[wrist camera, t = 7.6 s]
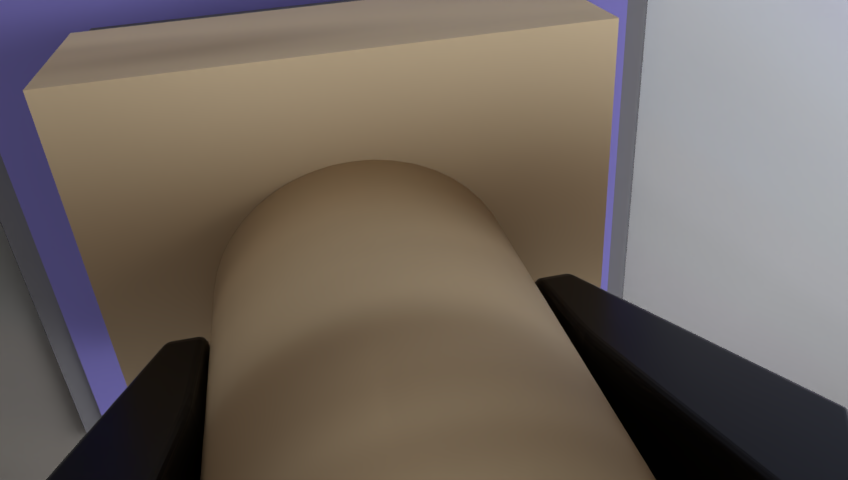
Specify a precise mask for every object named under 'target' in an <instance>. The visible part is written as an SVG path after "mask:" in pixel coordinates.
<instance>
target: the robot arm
mask: <svg viewBox="0 0 848 480" xmlns="http://www.w3.org/2000/svg"><path fill="white" fill-rule="evenodd" d="M535 284H536V285H537V287H538V289H539V290H540V292H541V293H542V295H543V297H544V298H545V300H546V302H547V303H548V305H549V306H550V308H551V310H552V311H553V313H554V315H555V316H556V318H557V319H558V321H559V323H560V324H561V326H562V328H563V329H564V331H565V332H566V334H567V336H568V337H569V339H570V341H571V342H572V344H573V345H574V347H575V349H576V350H577V352H578V354H579V355H580V357H581V358H582V360H583V362H584V363H585V365H586V367H587V368H588V370H589V371H590V373H591V375H592V376H593V378H594V380H595V381H596V383H597V384H598V386H599V388H600V389H601V391H602V393H603V394H604V396H605V397H606V399H607V401H608V402H609V404H610V406H611V407H612V409H613V410H614V412H615V414H616V415H617V417H618V419H619V420H620V422H621V423H622V425H623V427H624V428H625V430H626V432H627V433H628V435H629V436H630V438H631V440H632V441H633V443H634V445H635V446H636V448H637V449H638V451H639V453H640V454H641V456H642V458H643V459H644V461H645V462H646V464H647V466H648V467H649V469H650V471H651V472H652V474H653V475H654V477H655V479H656V480H848V410H847V409H846V408H845V407H843V406H841V405H839V404H837V403H835V402H833V401H831V400H829V399H827V398H825V397H823V396H821V395H819V394H817V393H815V392H813V391H810V390H808V389H806V388H804V387H802V386H800V385H798V384H796V383H794V382H792V381H790V380H788V379H786V378H784V377H782V376H780V375H778V374H776V373H774V372H771V371H769V370H767V369H765V368H763V367H761V366H759V365H757V364H755V363H753V362H751V361H749V360H747V359H745V358H743V357H741V356H739V355H737V354H735V353H732V352H730V351H728V350H726V349H724V348H722V347H720V346H718V345H716V344H714V343H712V342H710V341H708V340H706V339H704V338H702V337H700V336H698V335H696V334H693V333H691V332H689V331H687V330H685V329H683V328H681V327H679V326H677V325H675V324H673V323H671V322H669V321H667V320H665V319H663V318H661V317H659V316H657V315H654V314H652V313H650V312H648V311H646V310H644V309H642V308H640V307H638V306H636V305H634V304H632V303H630V302H628V301H626V300H624V299H622V298H620V297H618V296H615V295H613V294H611V293H609V292H607V291H605V290H603V289H601V288H599V287H597V286H595V285H593V284H591V283H589V282H587V281H585V280H583V279H581V278H578V277H576V276H574V275H572V274H560V275H555V276H549V277H543V278H539V279H537V280H536V282H535ZM209 354H210V345H209V342H208V341H207V340H206V339H205V338H204V337H194V338H188V339H182V340H176V341H171V342H168V343H166V344H165V345H164V346H163V347H162V348H161V349H160V350H159V351H158V352H157V354H156V355H155V356H154V357H153V358H152V359H151V360H150V362H149V363H148V364H147V365H146V366H145V367H144V368H143V370H142V371H141V372H140V373H139V374H138V375H137V376H136V378H135V379H134V380H133V381H132V382H131V383H130V384H129V386H128V387H127V388H126V389H125V390H124V391H123V392H122V394H121V395H120V396H119V397H118V398H117V399H116V400H115V402H114V403H113V404H112V405H111V406H110V407H109V408H108V410H107V411H106V412H105V413H104V414H103V415H102V416H101V418H100V419H99V420H98V421H97V422H96V423H95V424H94V426H93V427H92V428H91V429H90V430H89V431H88V432H87V434H86V435H85V436H84V437H83V438H82V439H81V440H80V442H79V443H78V444H77V445H76V446H75V447H74V448H73V450H72V451H71V452H70V453H69V454H68V455H67V456H66V458H65V459H64V460H63V461H62V462H61V463H60V464H59V466H58V467H57V468H56V469H55V470H54V471H53V472H52V474H51V475H50V476H49V477H48V478H47V479H46V480H200V476H201V462H202V449H203V435H204V421H205V408H206V394H207V381H208V367H209Z"/></svg>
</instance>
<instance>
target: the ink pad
mask: <svg viewBox="0 0 848 480" xmlns="http://www.w3.org/2000/svg"><path fill="white" fill-rule="evenodd" d="M330 1H339V0H0V222H1V225H2V227H3V229H4V232H5V234H6V237H7V239H8V242H9V244H10V247H11V249H12V252H13V254H14V256H15V259H16V261H17V264H18V266H19V269H20V271H21V274H22V276H23V279H24V281H25V283H26V286H27V288H28V291H29V293H30V296H31V298H32V301H33V303H34V306H35V308H36V310H37V313H38V315H39V318H40V320H41V323H42V325H43V328H44V330H45V333H46V335H47V337H48V340H49V342H50V345H51V347H52V350H53V352H54V355H55V357H56V360H57V362H58V364H59V367H60V369H61V372H62V374H63V377H64V379H65V382H66V384H67V387H68V389H69V391H70V394H71V396H72V399H73V401H74V404H75V406H76V409H77V411H78V414H79V416H80V418H81V421H82V423H83V426H84V428H85V431H86V433H87V432H88V431H89V430H90V429H91V428H92V427H93V426H94V424H95V423H96V422H97V421H98V420H99V419H100V418H101V416H102V415H103V414H104V413H105V412H106V411H107V410H108V408H109V407H110V406H111V405H112V404H113V403H114V402H115V400H116V399H117V398H118V397H119V396H120V395H121V394H122V392H123V391H124V390H125V389H126V388H127V385H126V382H125V379H124V376H123V374H122V371H121V368H120V365H119V362H118V359H117V356H116V354H115V351H114V348H113V345H112V342H111V339H110V337H109V334H108V331H107V328H106V325H105V322H104V320H103V317H102V314H101V311H100V308H99V305H98V303H97V300H96V297H95V294H94V291H93V288H92V286H91V283H90V280H89V277H88V274H87V271H86V268H85V266H84V263H83V260H82V257H81V254H80V251H79V249H78V246H77V243H76V240H75V237H74V234H73V232H72V229H71V226H70V223H69V220H68V217H67V215H66V212H65V209H64V206H63V203H62V200H61V198H60V195H59V192H58V189H57V186H56V183H55V181H54V178H53V175H52V172H51V169H50V166H49V163H48V161H47V158H46V155H45V152H44V149H43V146H42V144H41V141H40V138H39V135H38V132H37V129H36V127H35V124H34V121H33V118H32V115H31V112H30V110H29V107H28V104H27V101H26V98H25V95H24V93H23V90H24V88H25V87H26V86H27V85H28V83H29V82H30V81H31V80H32V79H33V77H34V76H35V75H36V74H37V73H38V71H39V70H40V69H41V68H42V67H43V65H44V64H45V63H46V62H47V61H48V59H49V58H50V57H51V56H52V55H53V53H54V52H55V51H56V50H57V49H58V47H59V46H60V45H61V44H62V43H63V41H64V40H65V39H66V38H67V37H68V35H69V34H70V33H74V32H83V31H89V30H90V29H91V28H97V27H106V26H115V25H124V24H133V23H142V22H151V21H160V20H169V19H178V18H187V17H196V16H205V15H214V14H223V13H232V12H241V11H250V10H258V9H267V8H276V7H285V6H294V5H303V4H312V3H321V2H330ZM587 1H589V2H591V3H592V4H594V5H596V6H598V7H600V8H602V9H604V10H605V11H607V12H609V13H611V14H613V15H615V16H617V17H618V18H619V27H618V41H617V56H616V71H615V86H614V100H613V115H612V130H611V144H610V159H609V174H608V189H607V203H606V218H605V233H604V247H603V262H602V277H601V289H603V290H605V291H607V292H609V293H611V294H613V295H615V296H618V297H620V298H623V287H624V275H625V263H626V251H627V239H628V227H629V215H630V204H631V192H632V180H633V168H634V156H635V144H636V132H637V120H638V109H639V97H640V85H641V73H642V61H643V49H644V37H645V26H646V14H647V2H648V0H587Z"/></svg>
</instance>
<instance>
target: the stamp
mask: <svg viewBox="0 0 848 480" xmlns="http://www.w3.org/2000/svg"><path fill="white" fill-rule="evenodd" d="M618 27H619V18H618V17H617V16H615V15H613V14H611V13H609V12H607V11H605V10H604V9H602V8H600V7H598V6H596V5H594V4H592V3H591V2H589V1H587V0H339V1H330V2H321V3H312V4H303V5H294V6H285V7H276V8H267V9H258V10H250V11H241V12H232V13H223V14H214V15H205V16H196V17H187V18H178V19H169V20H160V21H151V22H142V23H133V24H124V25H115V26H106V27H97V28H91V29H90V30H89V31H83V32H74V33H70V34H69V35H68V37H67V38H66V39H65V40H64V41H63V43H62V44H61V45H60V46H59V47H58V49H57V50H56V51H55V52H54V53H53V55H52V56H51V57H50V58H49V59H48V61H47V62H46V63H45V64H44V65H43V67H42V68H41V69H40V70H39V71H38V73H37V74H36V75H35V76H34V77H33V79H32V80H31V81H30V82H29V83H28V85H27V86H26V87H25V88H24V90H23V93H24V95H25V98H26V101H27V104H28V107H29V110H30V112H31V115H32V118H33V121H34V124H35V127H36V129H37V132H38V135H39V138H40V141H41V144H42V146H43V149H44V152H45V155H46V158H47V161H48V163H49V166H50V169H51V172H52V175H53V178H54V181H55V183H56V186H57V189H58V192H59V195H60V198H61V200H62V203H63V206H64V209H65V212H66V215H67V217H68V220H69V223H70V226H71V229H72V232H73V234H74V237H75V240H76V243H77V246H78V249H79V251H80V254H81V257H82V260H83V263H84V266H85V268H86V271H87V274H88V277H89V280H90V283H91V286H92V288H93V291H94V294H95V297H96V300H97V303H98V305H99V308H100V311H101V314H102V317H103V320H104V322H105V325H106V328H107V331H108V334H109V337H110V339H111V342H112V345H113V348H114V351H115V354H116V356H117V359H118V362H119V365H120V368H121V371H122V374H123V376H124V379H125V382H126V385H127V387H128V386H129V384H130V383H131V382H132V381H133V380H134V379H135V378H136V376H137V375H138V374H139V373H140V372H141V371H142V370H143V368H144V367H145V366H146V365H147V364H148V363H149V362H150V360H151V359H152V358H153V357H154V356H155V355H156V354H157V352H158V351H159V350H160V349H161V348H162V347H163V346H164V345H165V344H166V343H168V342H171V341H176V340H182V339H188V338H194V337H204V338H205V339H206V340H207V341H208V342H209V345H210V354H209V367H208V381H207V394H206V408H205V421H204V435H203V449H202V462H201V476H200V480H656V479H655V477H654V475H653V474H652V472H651V471H650V469H649V467H648V466H647V464H646V462H645V461H644V459H643V458H642V456H641V454H640V453H639V451H638V449H637V448H636V446H635V445H634V443H633V441H632V440H631V438H630V436H629V435H628V433H627V432H626V430H625V428H624V427H623V425H622V423H621V422H620V420H619V419H618V417H617V415H616V414H615V412H614V410H613V409H612V407H611V406H610V404H609V402H608V401H607V399H606V397H605V396H604V394H603V393H602V391H601V389H600V388H599V386H598V384H597V383H596V381H595V380H594V378H593V376H592V375H591V373H590V371H589V370H588V368H587V367H586V365H585V363H584V362H583V360H582V358H581V357H580V355H579V354H578V352H577V350H576V349H575V347H574V345H573V344H572V342H571V341H570V339H569V337H568V336H567V334H566V332H565V331H564V329H563V328H562V326H561V324H560V323H559V321H558V319H557V318H556V316H555V315H554V313H553V311H552V310H551V308H550V306H549V305H548V303H547V302H546V300H545V298H544V297H543V295H542V293H541V292H540V290H539V289H538V287H537V285H536V284H535V282H536V280H537V279H539V278H543V277H549V276H555V275H560V274H572V275H574V276H576V277H578V278H581V279H583V280H585V281H587V282H589V283H591V284H593V285H595V286H597V287H599V288H601V277H602V262H603V247H604V233H605V218H606V203H607V189H608V174H609V159H610V144H611V130H612V115H613V100H614V86H615V71H616V56H617V41H618Z"/></svg>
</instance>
